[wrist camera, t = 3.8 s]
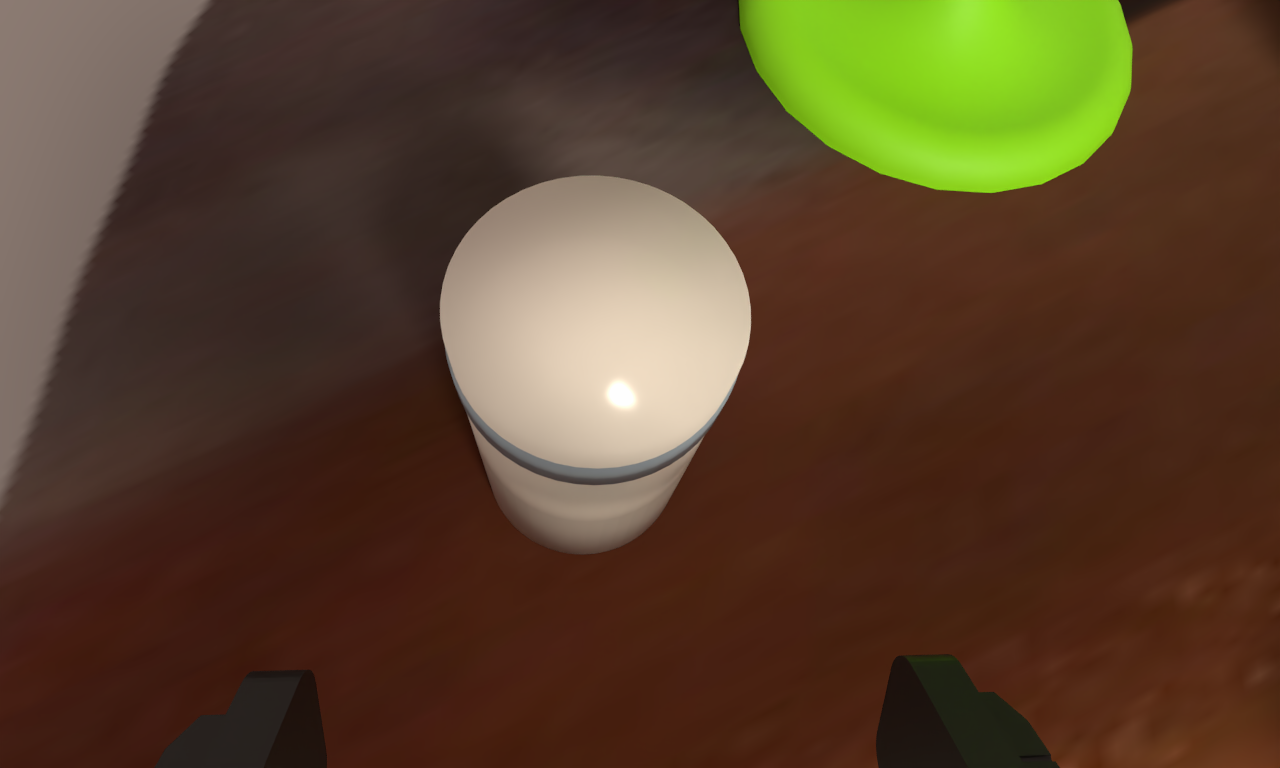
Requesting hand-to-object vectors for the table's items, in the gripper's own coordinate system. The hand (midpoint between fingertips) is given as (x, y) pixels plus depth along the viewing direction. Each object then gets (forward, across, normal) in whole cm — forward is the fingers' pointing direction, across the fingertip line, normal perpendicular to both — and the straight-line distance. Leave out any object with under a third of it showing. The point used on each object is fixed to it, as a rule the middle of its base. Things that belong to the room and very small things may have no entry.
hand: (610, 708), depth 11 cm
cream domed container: (+12, 0, +3) cm, 13 cm away
